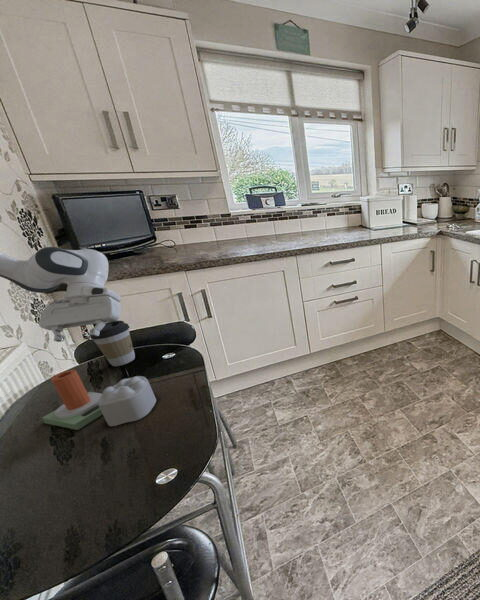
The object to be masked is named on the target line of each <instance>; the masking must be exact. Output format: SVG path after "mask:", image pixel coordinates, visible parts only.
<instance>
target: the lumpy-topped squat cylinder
mask: <svg viewBox="0 0 480 600" xmlns="http://www.w3.org/2000/svg"><path fill="white" fill-rule="evenodd" d="M102 394H103V395H102V396H101V397H100V399H99V400H98V402H97V404H98V406H99V408H100V410H101V412H102V414H103V415H102V416H103V418H104V420H105V421H106V423H107V426H109V427H116V426H119V425H122V424H125V423H131V422H137V421H139V420H141V419H143V418H144V417H146V416H147V415H148V414H149V413H150V412H151V411H152V409H153V408H154V406H155V405H156V403H157V398H156V395H155V394H154V391H153V389H152V387H151V384H150V382H149V380H148V379H147V378H146V376H141V375H136V376H131V377H127V378H123V379H121V380H119V381H118V382H117V383H116V384H114V385H111V386H107V387H105V388H104V389H103V391H102Z"/></svg>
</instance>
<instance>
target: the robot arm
mask: <svg viewBox="0 0 480 600" xmlns="http://www.w3.org/2000/svg"><path fill="white" fill-rule="evenodd" d="M109 269H110V265H109V260H108V258H107V256H106V255H105V254H103V253H102V252H100V251H98V250H96V249H91V248H81V249H65V248H62V247H58V246H45V247H42V248H40V249H38V250H37V251H36V252H35V253H34V254H32V255H31V256H30V258H29V259H25V260H23V259H22V260H21V259H17V258H15V257H12V256H10V255H7V254H4V253H2V252H0V278H3V279H4V280H5V279H6V280H8V281H10V282H12V283H13V284H15V285H16V286H18V287H20V288H21V289H23V290H26V291H28V292H32V293H38V294H43V293H44V294H46V293H50V292H53V291H55V290H56V289H58V288H59V287H60V286H61V285H62V284H63V283H64V284H66V285H67V287H66V290H65V295H64V299H60V300H54V301H53V300H52V302H50V303H49V304H47V305H46V306H45V308H44V310H43V312H42V314H41V315H40V318H39V321H38V326H39V327H40V328H41V329H44V330H47V331H51V332H52V333H53V336H54V337H53V341H54V342H56V343H60V342H65V340H66V335H64V334H62V332H63V331H64V330H65V329H70V328H76V327H85V326H90V325H95V326H94V327H93V328H94V329H93V328H91V329H90V330H89V333H88V334H89V337H90V336H92V337H94V336H99V333H100V331H101V329H102V328H103V327H104V326H105V323H107V322H112V321H119V319H120V318H121V314H122V303H120V302H121V301H122V296H121V295H119V294H118V293H117V292H115V291H113V290H111V289H109V288H106V283H107V281H108V277H109Z"/></svg>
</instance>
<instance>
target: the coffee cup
mask: <svg viewBox="0 0 480 600" xmlns="http://www.w3.org/2000/svg"><path fill="white" fill-rule="evenodd" d="M92 329H94V327H93V328H92ZM89 338H90V340H93V341H94V343H95V344H96V346H97V347H98V349H99V350H100V352H101V353H102V355H104V356H105V359H106V360H107V361H108V363H109V364H110V365H111V366H112V367H120V366H124V365H127V364H129V363H131V362H133V361H134V360H135V358H136V353H135V350H134V346H133V341H132V338H131V334H130V326H129V323H125V321H123V320H117V321H112V322H106V323H105V326H104V327H103V328H102V329H101V331H100V333H99V336H94V337H92V336H90V335H89Z"/></svg>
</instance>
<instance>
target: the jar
mask: <svg viewBox="0 0 480 600" xmlns="http://www.w3.org/2000/svg"><path fill="white" fill-rule="evenodd" d="M50 381H51V383H52V385H53V387H54V388H55V390H56V392H57V394H58V396H59V397H60V399H61V401H62V402H63V404H64V405H65V406H66V408H67V409H68V410H73V409H77V408H80V407H82V406H84V405H86V404H87V403H88V402H90V400H91V399H90V397H89V395H88V391H87V389H86V388H85V386H84V383H83V381H82V380H81V377H80V375H79V373H78V372H77V370H76V369H69V370H64V371H62V372H59V373H57V374H55V375H53V376H52V377H51V378H50Z"/></svg>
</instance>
